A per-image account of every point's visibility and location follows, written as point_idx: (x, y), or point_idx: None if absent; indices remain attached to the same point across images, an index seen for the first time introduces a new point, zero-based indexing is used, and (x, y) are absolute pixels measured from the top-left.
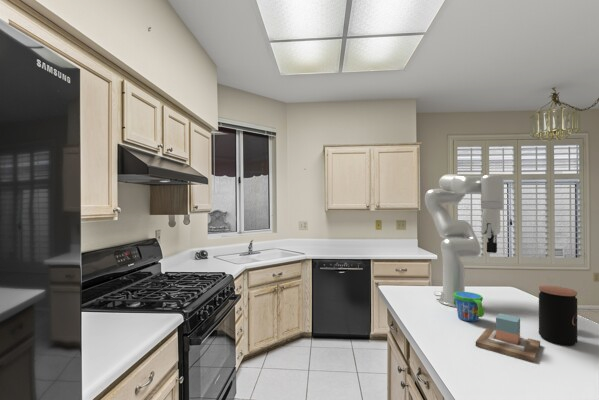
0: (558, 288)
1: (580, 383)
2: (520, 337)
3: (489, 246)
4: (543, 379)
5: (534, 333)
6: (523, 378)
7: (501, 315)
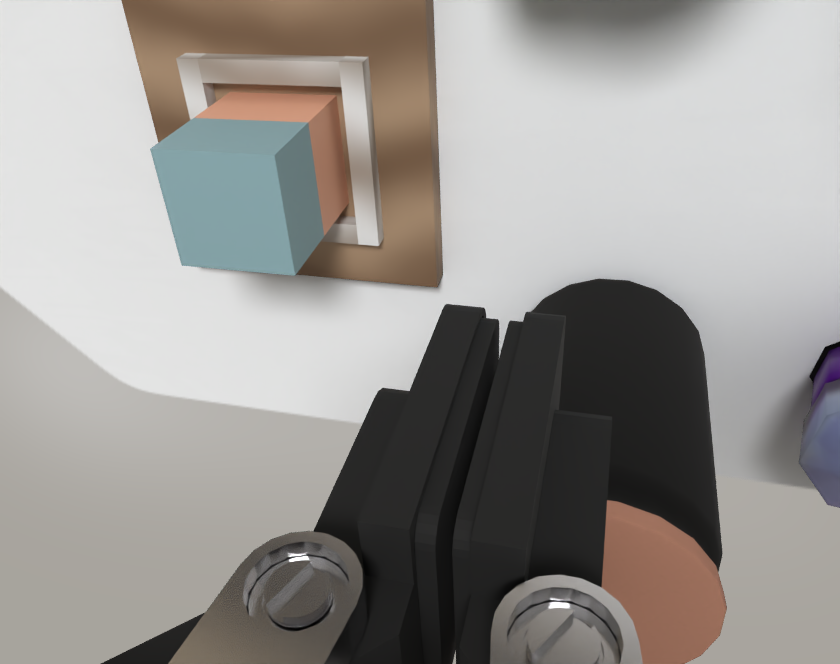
0: (628, 612)
1: (171, 371)
2: (357, 211)
3: (351, 472)
4: (87, 279)
5: (645, 248)
6: (27, 223)
7: (232, 173)
